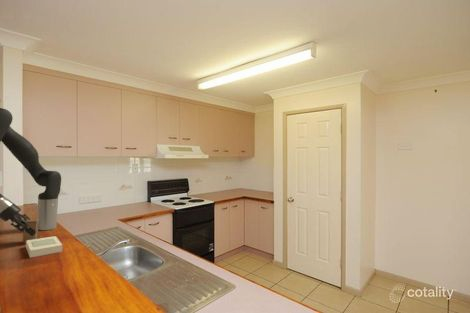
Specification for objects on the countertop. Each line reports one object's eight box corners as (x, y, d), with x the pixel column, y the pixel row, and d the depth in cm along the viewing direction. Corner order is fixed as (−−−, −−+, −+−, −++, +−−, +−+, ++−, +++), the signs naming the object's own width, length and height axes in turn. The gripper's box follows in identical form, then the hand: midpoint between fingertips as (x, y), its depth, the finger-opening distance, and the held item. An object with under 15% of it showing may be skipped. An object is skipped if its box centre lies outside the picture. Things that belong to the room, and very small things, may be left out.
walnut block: (25, 240, 121) (26, 220, 121) (37, 239, 123) (38, 219, 123) (22, 243, 117) (24, 222, 117) (34, 242, 119) (36, 221, 119)
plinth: (25, 247, 113) (26, 240, 113) (55, 242, 121) (55, 235, 121) (30, 257, 102) (30, 249, 102) (62, 251, 109) (62, 244, 109)
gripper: (7, 205, 110) (39, 230, 116) (17, 200, 123) (46, 223, 128) (-10, 218, 108) (24, 243, 113) (3, 211, 121) (32, 234, 126)
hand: (35, 232), depth 121 cm, fingers closed on walnut block, 4 cm apart
